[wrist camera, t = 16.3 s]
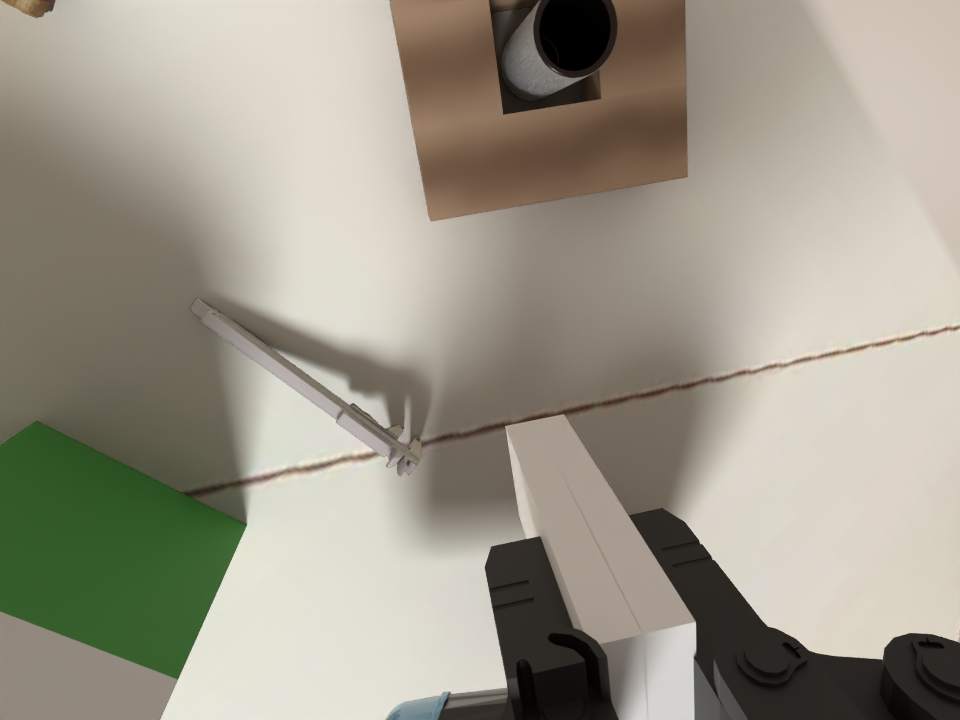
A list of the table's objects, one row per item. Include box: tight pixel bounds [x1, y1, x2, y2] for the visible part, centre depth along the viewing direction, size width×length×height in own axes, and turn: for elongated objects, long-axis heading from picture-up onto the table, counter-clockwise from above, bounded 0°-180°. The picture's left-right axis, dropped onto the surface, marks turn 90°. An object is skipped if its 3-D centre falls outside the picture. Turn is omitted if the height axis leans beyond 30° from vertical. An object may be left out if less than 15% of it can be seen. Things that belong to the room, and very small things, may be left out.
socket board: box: [389, 0, 688, 221], centre depth 35 cm, size 18×18×4 cm
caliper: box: [190, 298, 422, 476], centre depth 40 cm, size 20×1×6 cm, turn 51°
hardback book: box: [0, 421, 247, 720], centre depth 33 cm, size 18×7×24 cm, turn 52°
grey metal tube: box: [501, 0, 618, 100], centre depth 32 cm, size 4×4×10 cm
